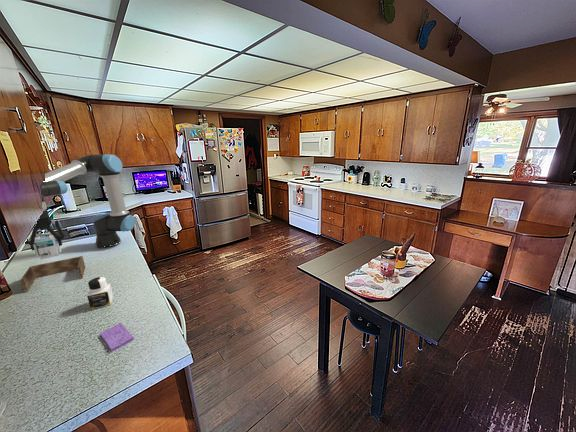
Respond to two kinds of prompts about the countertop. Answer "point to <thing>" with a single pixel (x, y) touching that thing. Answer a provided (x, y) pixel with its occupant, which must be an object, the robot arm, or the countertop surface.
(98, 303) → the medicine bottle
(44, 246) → the light bulb box
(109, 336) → the sponges
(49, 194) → the robot arm
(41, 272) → the walnut u-shaped bracket
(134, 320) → the countertop surface
